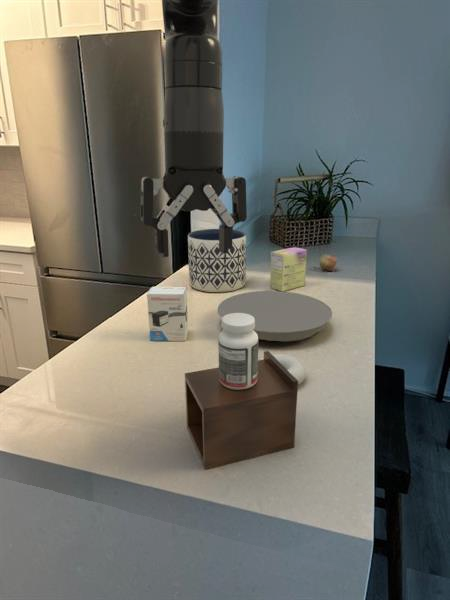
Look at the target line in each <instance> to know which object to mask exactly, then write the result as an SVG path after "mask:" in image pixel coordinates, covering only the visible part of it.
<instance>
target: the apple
mask: <svg viewBox="0 0 450 600" xmlns="http://www.w3.org/2000/svg"><path fill="white" fill-rule="evenodd" d="M318 261H319V266H320V269H321V270H322V271H325V272H333V271H334V270H335V268H336V265H337V263H338V259H337V257H336V256H335V255H331V254H327V253H325V254H323V255H321V257H320V258H319V260H318Z"/></svg>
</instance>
